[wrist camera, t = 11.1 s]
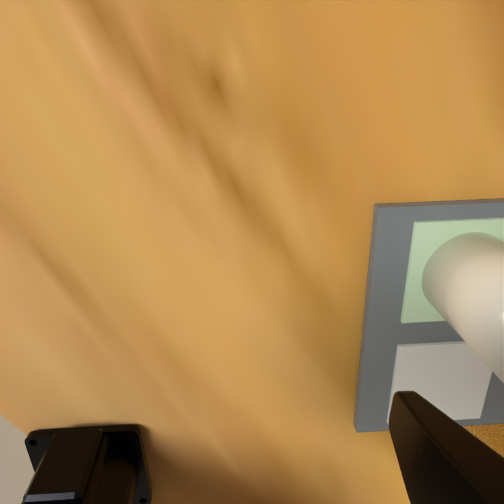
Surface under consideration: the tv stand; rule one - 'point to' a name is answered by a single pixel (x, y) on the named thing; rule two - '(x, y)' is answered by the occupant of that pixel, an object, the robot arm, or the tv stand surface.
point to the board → (421, 318)
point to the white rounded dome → (471, 292)
